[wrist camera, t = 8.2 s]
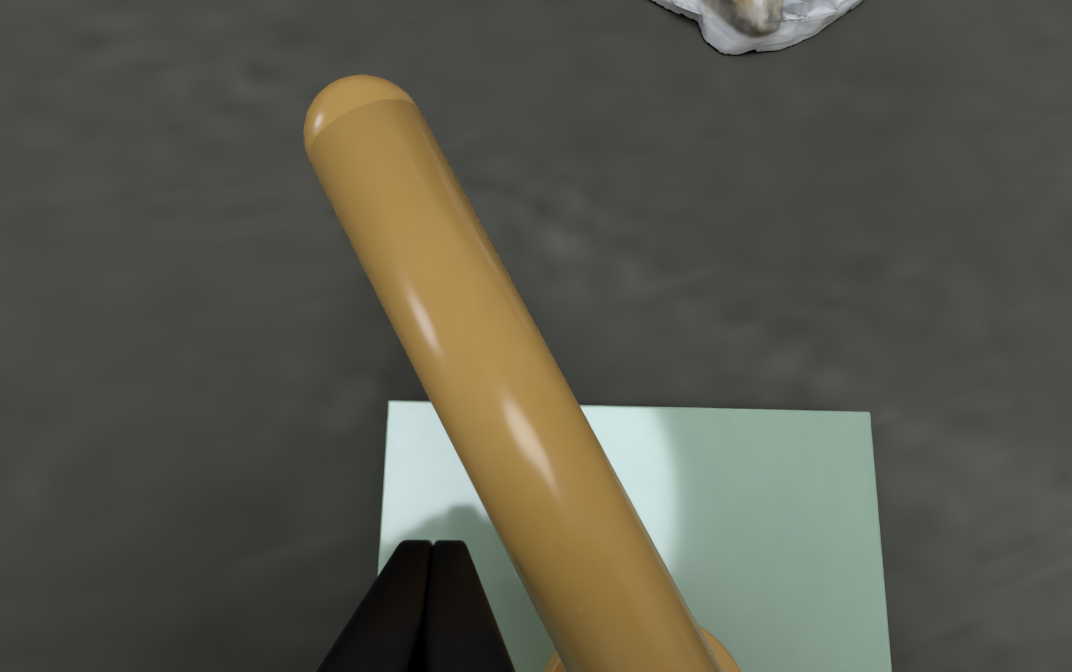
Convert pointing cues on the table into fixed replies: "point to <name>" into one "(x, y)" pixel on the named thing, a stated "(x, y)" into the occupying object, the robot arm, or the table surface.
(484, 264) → the spout
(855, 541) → the tap deck
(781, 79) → the table surface
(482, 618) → the robot arm
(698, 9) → the frog figurine
